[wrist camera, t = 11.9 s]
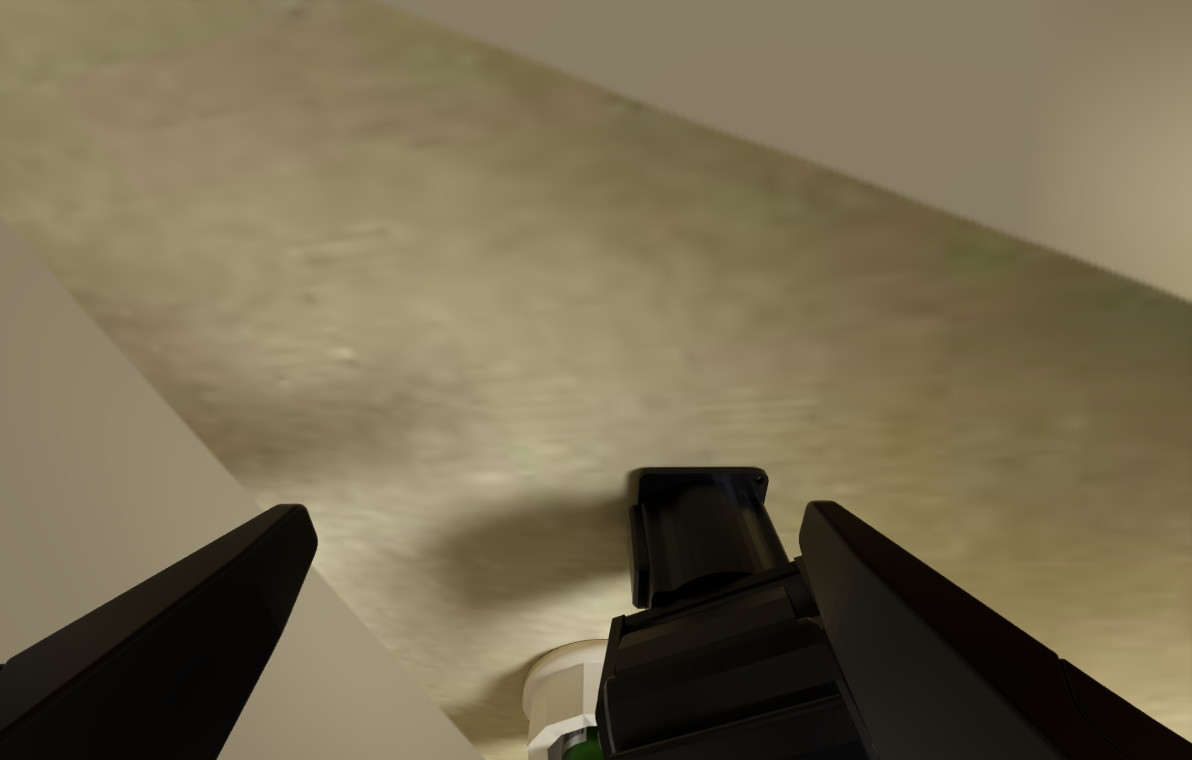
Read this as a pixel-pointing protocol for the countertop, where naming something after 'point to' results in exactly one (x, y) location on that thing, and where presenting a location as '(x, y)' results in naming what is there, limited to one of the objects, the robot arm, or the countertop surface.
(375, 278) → the countertop surface
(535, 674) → the can holder
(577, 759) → the beer can
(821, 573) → the robot arm
